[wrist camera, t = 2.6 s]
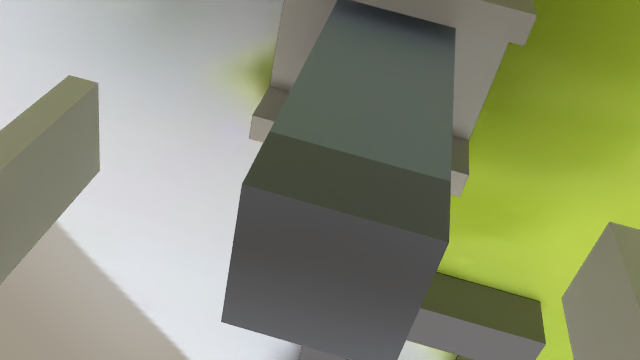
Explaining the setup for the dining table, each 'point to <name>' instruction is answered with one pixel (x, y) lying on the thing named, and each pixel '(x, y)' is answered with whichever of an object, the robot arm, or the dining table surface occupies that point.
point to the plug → (350, 190)
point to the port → (471, 323)
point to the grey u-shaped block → (428, 4)
